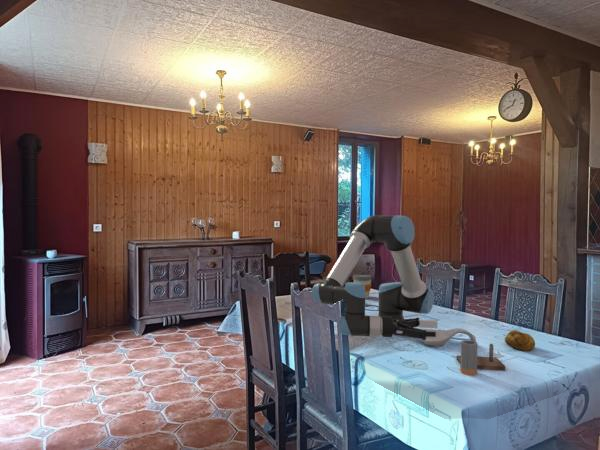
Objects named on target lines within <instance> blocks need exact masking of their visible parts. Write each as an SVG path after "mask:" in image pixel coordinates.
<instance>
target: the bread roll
mask: <svg viewBox="0 0 600 450" xmlns="http://www.w3.org/2000/svg"><path fill="white" fill-rule="evenodd" d="M504 343H506V344H507V345H508V346H509V347H511V348H513V349H515V350H518V351H522V352H525V351H527V352H529V351H532V350H533V349H534V348H535V347H536V341H535V339H534V337H533V336H532V335H531V334H529V333H526V332H522V331H519V330H516V329H515V330H514V329H513V330H512V331H509V332H508V333H507V334H506V335H505V337H504Z"/></svg>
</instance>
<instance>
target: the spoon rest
mask: <svg viewBox="0 0 600 450" xmlns="http://www.w3.org/2000/svg"><path fill="white" fill-rule="evenodd" d="M461 333H463V334H466V335H467V336H468V337H469V338H470V340H471V341H475V342H477V340H476V337H475V336H474V335H473V334H472V333H471V332H470V331H468V330H467V329H464V328H458V327H457V328H452V329H448V330H445V338H427V337H426V340H423V339H420V340H421V341H422V343H424V344H425V345H426V346H429V347H433V348H440V347H443V346H444V345H445V344H447V343H448V341H450V339H452V338H453V337H455V335H457V334H461Z"/></svg>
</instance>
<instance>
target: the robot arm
mask: <svg viewBox="0 0 600 450" xmlns="http://www.w3.org/2000/svg"><path fill="white" fill-rule="evenodd" d="M415 237H416V232H415V225H414V223H413V220H412V219H411V218H410V217H408V216H406V215H400V214H397V215H379V214H378V215H377V214H374V215H371V216H368V217H366V218H364V219H363V220H362V221H360V222H359V223H358V224H356V226H355V227H354V228H353V229H352V231H351V232H350V234H349V240H348V242H347V244H346V245H345V247H344V248H343V250H342V252H341V253H340V254H339V256H338V258H337V260H336V261H335V263H334V264H333V266H332V267H331V269H330V271H329V273H328V274H327V276H326V278H325V279H324V280H323V282H322V283H321V282H320V283H319V282H318V283H315V284H314V285H313V287H312V289H311V298H312V300H313V301H314V302H316V303H319V304H322V305H329V304H334V303H336V302H337V301H340V300H342V299H343V301H344V300H345V301H344V302H345V305H346V308H345V307H344V314H345V316H341V317H340V316H339V319H338V321H339V324H338V325H339V327H338V328H339V329H338V330H339V334H340V335H343V336H344V335H345V336H351V337H371V338H373V339H374V338H376V337H377V338H379V337H382V338H392V337H393V334H396V336H400V337H401V336H404V337H408V338H414V339H420V340H421V339H423V340H426V337H427V338H445V331H446V330H445V329H438V320H432V319H431V320H430V319H429V320H428V319H420V317H415V318H404V312H409V313H410V312H411V313H416V314H419V315H420V314H424V315H427V314H429V313H431V311H432V308H433V307H434V306H433V305H434V303H435V301H434V300H435V292H434V290H433V289H431V288H428V287H427V284H426V282H424V281H423V280H421V276H420V272H419V269H418V266H417V263H416V260H415V256H414V254H413V251H412V247H411V245H412V243H413V241H414V239H415ZM372 243H384V246H385V248H386V250H387V251H389V252H390V254H391V256H392V259H393V262H394V264H395V267H396V270H397V273H398V276H399V278H400V281H396V282H394V281H393V282H385V283H381V284H380V285H379V287H378V292H377V293H378V314H377V315H366V298H365V297H366V294H365V285H364V284H363V283H359V282H354V281H353V282H352V281H351V282H348V281H347V280H348V278H349V277H350V275H351V273H352V271H353V270H354V268H355V267H356V265H357V263H358V261H360V258H361V257H362V255H363V253H364V251H365V250H366V249H368V248H369V247H370V246H371V244H372ZM323 303H324V304H323ZM418 327H419V328H418ZM423 328H425V329H423Z"/></svg>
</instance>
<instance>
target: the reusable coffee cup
mask: <svg viewBox="0 0 600 450" xmlns="http://www.w3.org/2000/svg"><path fill="white" fill-rule="evenodd" d="M372 278H373V277H372V275H371V274H366V273H357V274H356V273H355V274H353V276H352V279H353V282H359V283H363V284H364V285H365V294H366V297H365V299H369V297H370V291H371V290H372V288H371V287H372V280H373V279H372Z"/></svg>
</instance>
